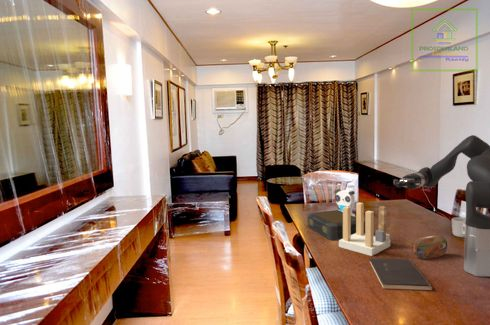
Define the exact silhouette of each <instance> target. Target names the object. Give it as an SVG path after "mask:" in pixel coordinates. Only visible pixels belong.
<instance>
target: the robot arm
mask: <svg viewBox="0 0 490 325" xmlns="http://www.w3.org/2000/svg"><path fill="white" fill-rule="evenodd" d="M460 154H463V155H464V156H466V157H467V158H469V160H468V161H467V164H466V171H467V177H468V178H469V179H470V180H471V181H469V182H467V184H466V186H465V218H466V223H465V237H464V250H463V251H464V254H463V270H464V271H465V272H466V273H468V274H471V275H473V276H474V277H490V215H487V214H484V213H482V212H480V211H479V210H478V209H477V208H485V209H490V144H488V143H487V142H486V141H484V140H483V139H481V138H480V137H478V135H474V134H473V135H472V134H471V135H470V136H467V137H466V138H465V139H463V140H462V141H461V142H460V143H458V144H457V145H456V146H455V147H454V148H453V149H452V150H450V152H449V153H447V155H445V156H444V157H442V159H440V160H438V162H436V163H434V164H433V165H432V166H431V167H427V166H424V167H422V168H421V169H420V170H418V171H417V172H413V173H407V174H405V175H404V176H403V178H401V179H399V180H398V179H396V178H394V179H393V185H394V186H395V187H396V188H402V187H403V188H406V189H407V190H415V189H418V188H421V187H423V186H425V187H426V188H433V187H434V186H436V185H437V184H438V183H439V181H440V180H441V179H442V178H443V177H444V176H446V175H448V174H449V173H450V172H452V171H453V170H454V168H456V164H457V159H458V156H459V155H460Z"/></svg>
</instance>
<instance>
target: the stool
mask: <svg viewBox="0 0 490 325" xmlns="http://www.w3.org/2000/svg"><path fill="white" fill-rule="evenodd" d="M355 205H356V214H355V217H356V233H355V234H353V235H351V207H343V239H339V240H338V247H339V248H342V249H345V250H349V251H351V252H356V253H360V254H362V255H366V256H371V257H373V256H375V255H377V254H379V253H380V252H382V251H384V250H386V249H388V248H390V247H391V234H390V233H386V240H385V241H384V231H381V230H378V229H376V230H375V232H374V228H375V227H374V226H375V224H374V222H375V221H374V219H375V218H374V217H375V215H374V214H375V212H374V211H371V210H366V211H365V208H364V207H365V204H364V203H363V202H360V201H359V202H356V204H355ZM364 221H365V234H364Z"/></svg>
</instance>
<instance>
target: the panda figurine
mask: <svg viewBox="0 0 490 325" xmlns="http://www.w3.org/2000/svg"><path fill="white" fill-rule="evenodd" d="M333 193H334V194H335V196H334V201H335V203H336V205H337V206H336V208H337V210H339V211H341V212H343V207H351V216H354V217H356V214H355V213H353V205H354V203H355V200H356V199H355V196H354V195H355V191H354V190H348V189H343V190H341V188H338V189H334V192H333Z"/></svg>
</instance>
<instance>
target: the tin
mask: <svg viewBox="0 0 490 325" xmlns="http://www.w3.org/2000/svg"><path fill="white" fill-rule="evenodd" d="M412 248H413V254H414V255H415V256H416V257H418V258H420V259H422V260H427V259H428V260H429V259H433V258H438V257H441V256H443V255H445V254H446V252H447V249H448V242H447V239H446V238H445V237H444V236H442V235H441V236H440V235H430V236H423V237H418V238H417V239H416V240H414V242H413V246H412Z"/></svg>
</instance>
